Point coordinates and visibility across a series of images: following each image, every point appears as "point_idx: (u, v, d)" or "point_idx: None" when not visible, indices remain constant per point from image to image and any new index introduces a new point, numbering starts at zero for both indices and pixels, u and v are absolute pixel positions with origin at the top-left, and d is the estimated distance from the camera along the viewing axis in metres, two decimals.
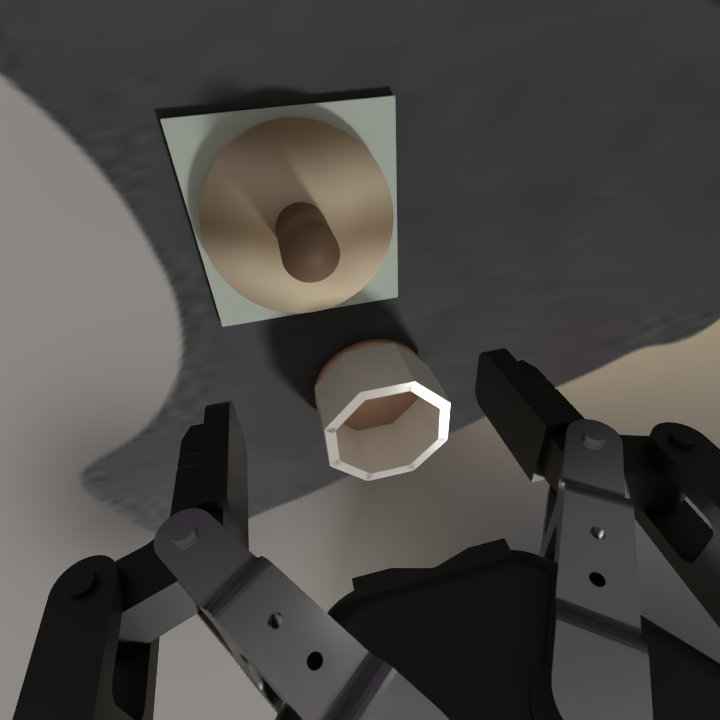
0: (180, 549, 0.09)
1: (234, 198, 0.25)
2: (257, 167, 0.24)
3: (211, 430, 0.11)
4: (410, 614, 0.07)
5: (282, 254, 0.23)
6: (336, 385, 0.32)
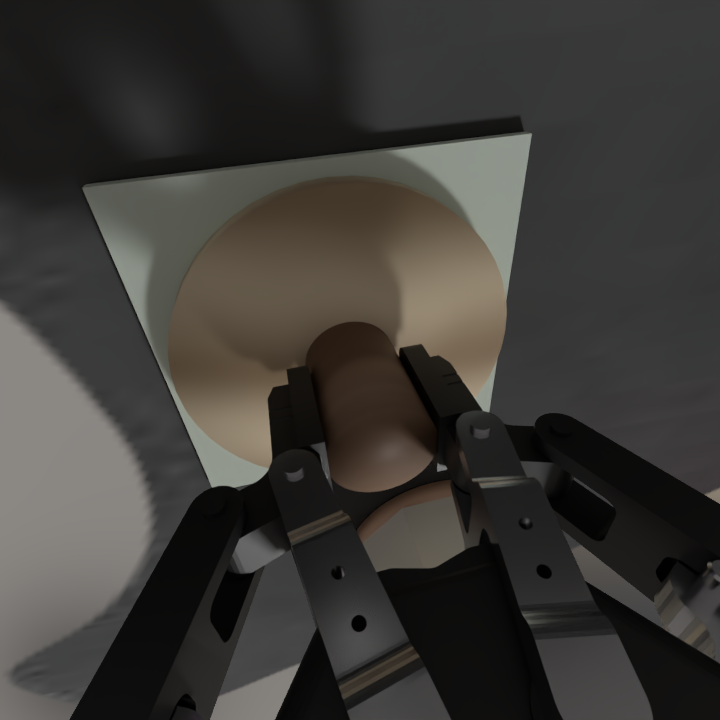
0: (294, 481, 0.10)
1: (232, 323, 0.13)
2: (276, 270, 0.13)
3: (296, 388, 0.13)
4: (410, 614, 0.07)
5: (328, 458, 0.11)
6: None
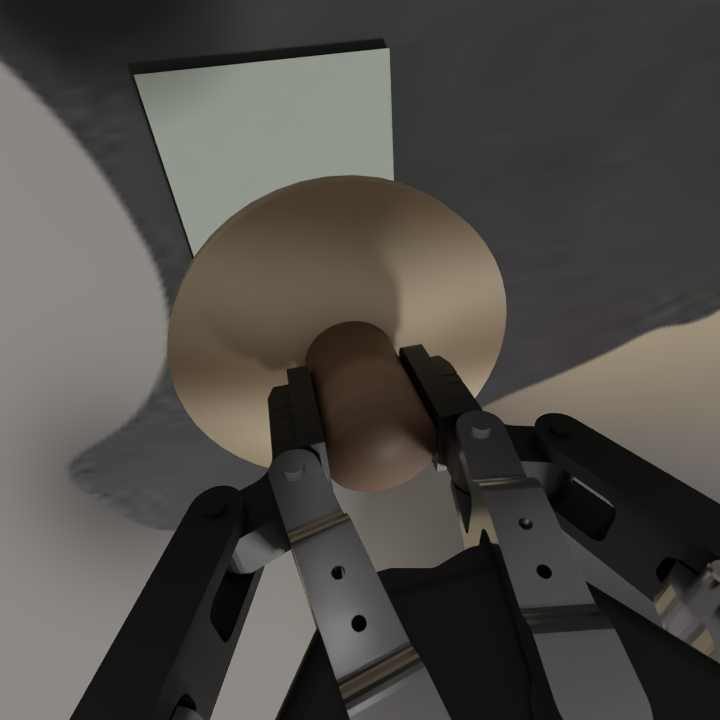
0: (294, 481, 0.10)
1: (232, 322, 0.13)
2: (275, 270, 0.13)
3: (296, 388, 0.13)
4: (410, 614, 0.07)
5: (328, 457, 0.11)
6: None
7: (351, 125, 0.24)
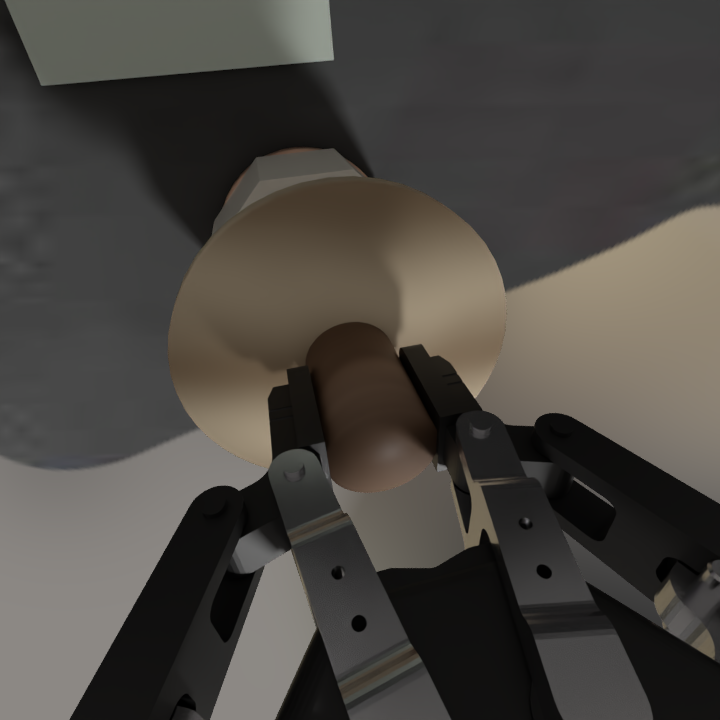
0: (294, 481, 0.10)
1: (232, 323, 0.13)
2: (276, 271, 0.13)
3: (296, 388, 0.13)
4: (410, 614, 0.07)
5: (328, 458, 0.11)
6: (236, 197, 0.20)
7: None
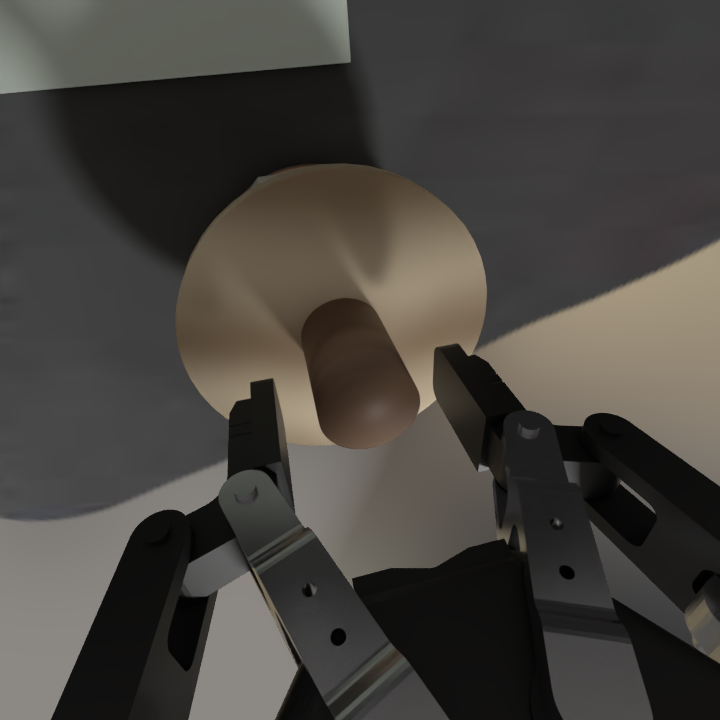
0: (244, 504, 0.09)
1: (234, 298, 0.15)
2: (274, 249, 0.14)
3: (258, 403, 0.12)
4: (410, 614, 0.07)
5: (320, 414, 0.13)
6: None
7: None
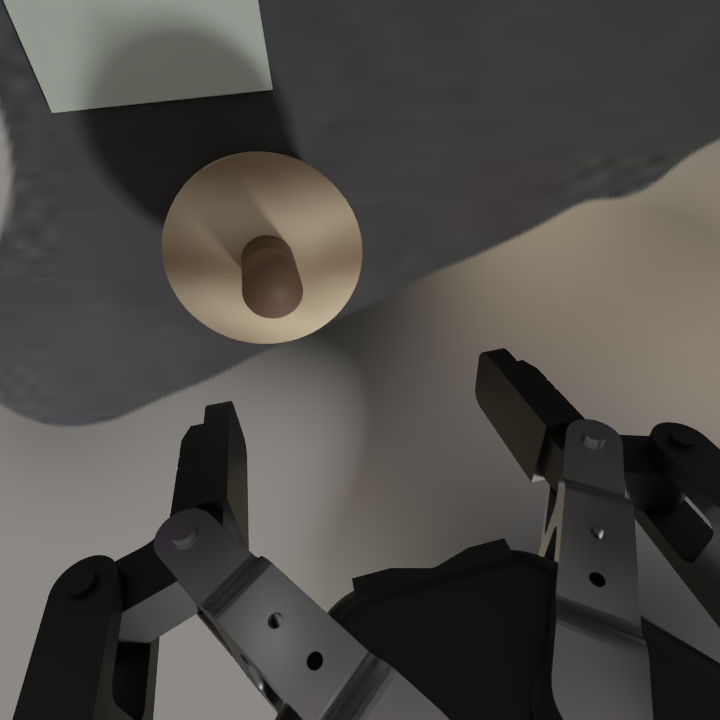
0: (180, 549, 0.09)
1: (197, 233, 0.25)
2: (219, 202, 0.24)
3: (211, 430, 0.11)
4: (410, 614, 0.07)
5: (243, 292, 0.22)
6: None
7: None
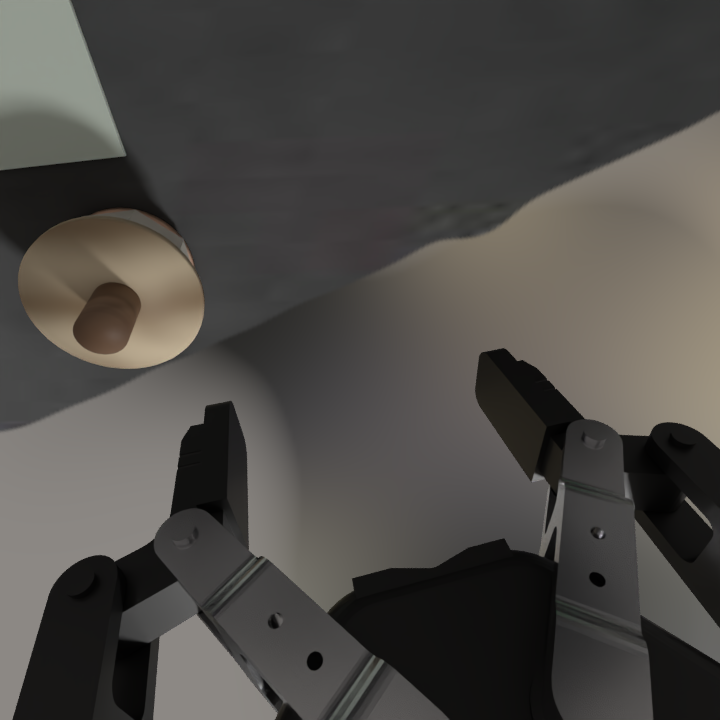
0: (180, 549, 0.09)
1: (49, 281, 0.30)
2: (64, 257, 0.29)
3: (211, 430, 0.11)
4: (410, 614, 0.07)
5: (74, 334, 0.27)
6: None
7: None
